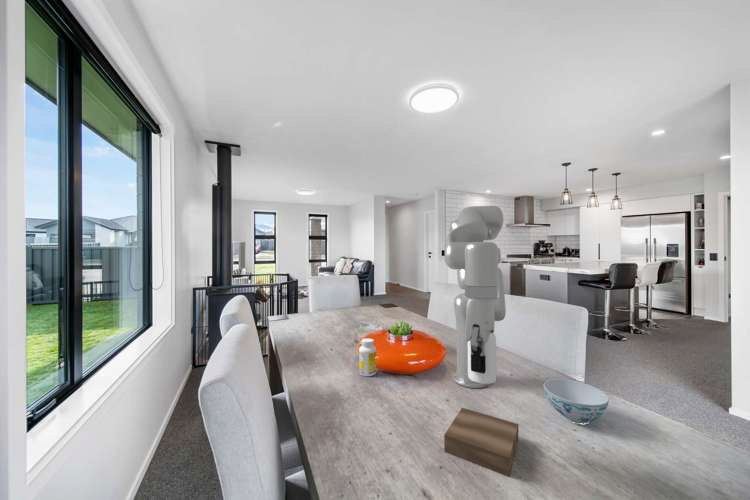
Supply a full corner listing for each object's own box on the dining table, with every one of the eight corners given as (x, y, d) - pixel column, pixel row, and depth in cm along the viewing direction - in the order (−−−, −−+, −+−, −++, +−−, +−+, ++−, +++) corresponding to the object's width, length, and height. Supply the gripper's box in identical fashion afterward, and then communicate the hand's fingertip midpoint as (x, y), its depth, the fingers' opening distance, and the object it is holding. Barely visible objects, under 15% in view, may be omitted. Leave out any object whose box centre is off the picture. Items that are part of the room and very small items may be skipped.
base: (462, 422, 79) (462, 407, 79) (518, 440, 72) (518, 424, 72) (444, 451, 68) (444, 434, 68) (509, 477, 60) (509, 457, 60)
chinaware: (596, 408, 86) (595, 382, 86) (620, 440, 71) (619, 409, 72) (539, 400, 91) (538, 376, 91) (551, 428, 76) (550, 399, 76)
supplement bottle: (378, 370, 114) (377, 338, 114) (374, 377, 108) (374, 343, 108) (361, 369, 115) (361, 337, 115) (357, 376, 109) (357, 342, 109)
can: (499, 386, 66) (498, 334, 66) (469, 384, 67) (469, 332, 67) (493, 374, 72) (492, 326, 72) (466, 372, 74) (466, 325, 74)
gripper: (474, 287, 79) (475, 353, 79) (454, 296, 65) (455, 376, 65) (504, 289, 75) (504, 358, 75) (489, 299, 61) (490, 384, 61)
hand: (481, 366), depth 70 cm, fingers closed on can, 6 cm apart
